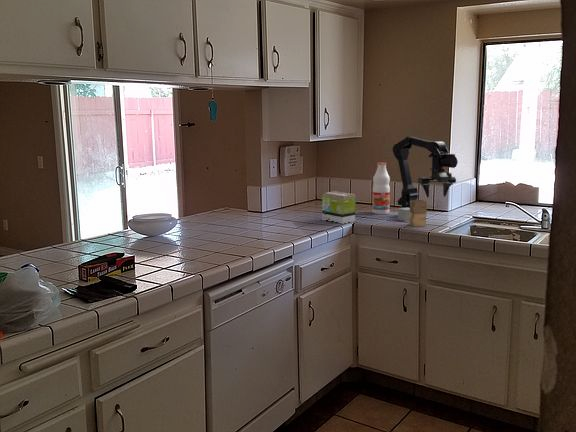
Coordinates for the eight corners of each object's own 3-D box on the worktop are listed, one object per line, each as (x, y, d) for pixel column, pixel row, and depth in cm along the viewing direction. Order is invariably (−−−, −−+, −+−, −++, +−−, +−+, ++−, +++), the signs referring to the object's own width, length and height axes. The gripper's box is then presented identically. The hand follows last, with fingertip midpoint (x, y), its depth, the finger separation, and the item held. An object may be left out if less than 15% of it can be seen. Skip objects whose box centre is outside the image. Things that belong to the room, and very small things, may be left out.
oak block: (409, 224, 292) (409, 212, 291) (420, 223, 293) (421, 211, 292) (414, 226, 286) (414, 214, 285) (425, 225, 287) (426, 213, 286)
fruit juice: (388, 211, 329) (389, 162, 324) (390, 214, 319) (391, 163, 314) (371, 211, 329) (372, 162, 324) (373, 214, 320) (374, 163, 315)
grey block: (398, 219, 304) (398, 208, 303) (407, 218, 307) (407, 207, 306) (405, 221, 299) (405, 210, 298) (414, 220, 302) (414, 209, 301)
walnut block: (409, 212, 291) (410, 200, 290) (421, 211, 292) (421, 200, 291) (414, 214, 285) (415, 202, 284) (426, 213, 286) (426, 201, 285)
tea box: (321, 220, 304) (321, 192, 301) (334, 218, 310) (334, 190, 308) (342, 224, 293) (342, 195, 290) (355, 221, 299) (356, 193, 297)
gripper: (427, 168, 285) (426, 200, 287) (462, 167, 288) (460, 198, 291) (417, 166, 295) (416, 196, 298) (451, 165, 299) (450, 195, 302)
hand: (436, 197), depth 297 cm, fingers open, 9 cm apart
